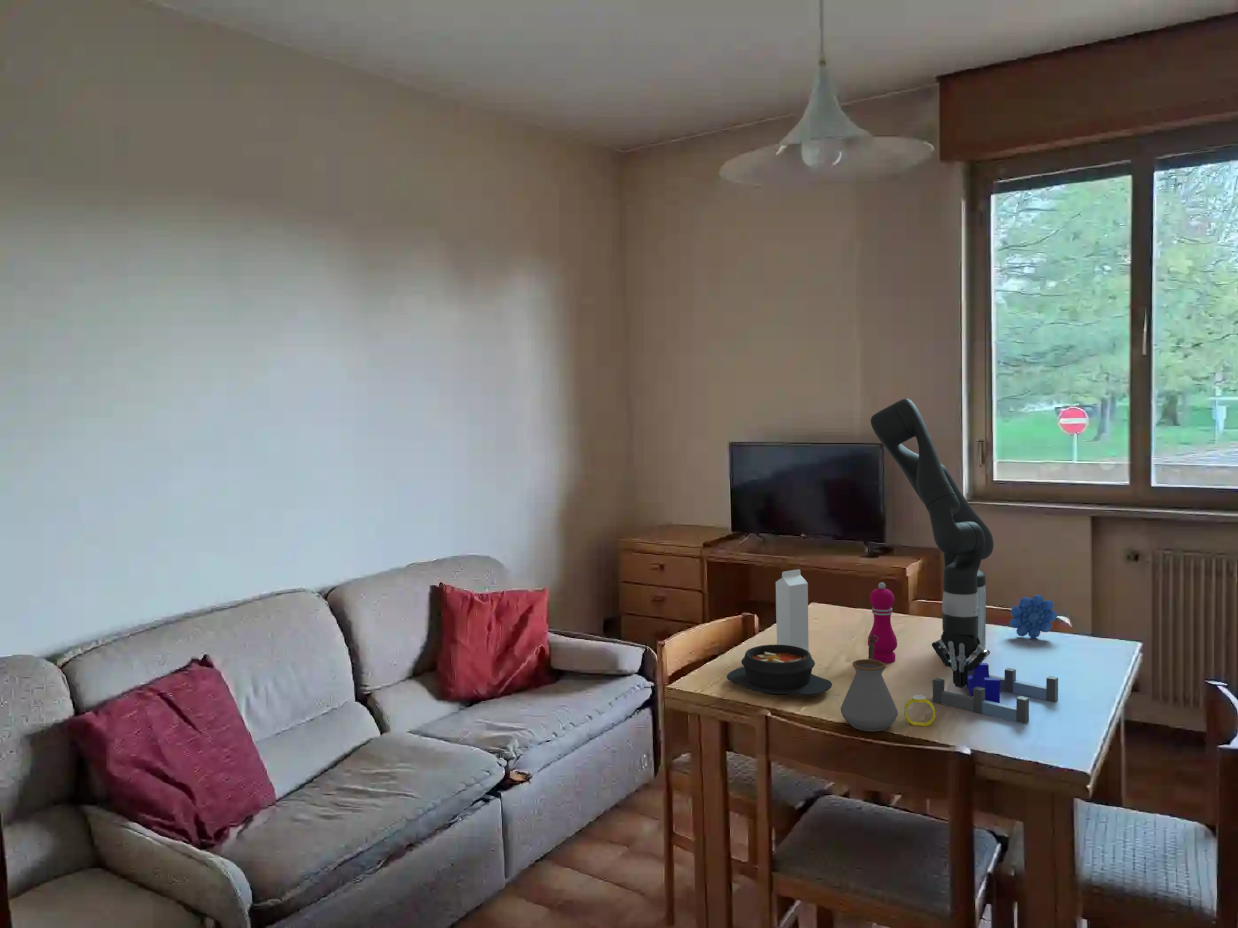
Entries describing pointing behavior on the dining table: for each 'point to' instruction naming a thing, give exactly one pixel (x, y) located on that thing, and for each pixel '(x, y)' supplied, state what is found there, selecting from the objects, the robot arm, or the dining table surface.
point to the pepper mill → (883, 624)
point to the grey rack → (997, 709)
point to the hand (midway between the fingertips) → (960, 686)
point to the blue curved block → (984, 683)
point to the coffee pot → (869, 696)
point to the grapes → (1033, 616)
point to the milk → (792, 610)
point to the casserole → (779, 671)
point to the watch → (920, 700)
